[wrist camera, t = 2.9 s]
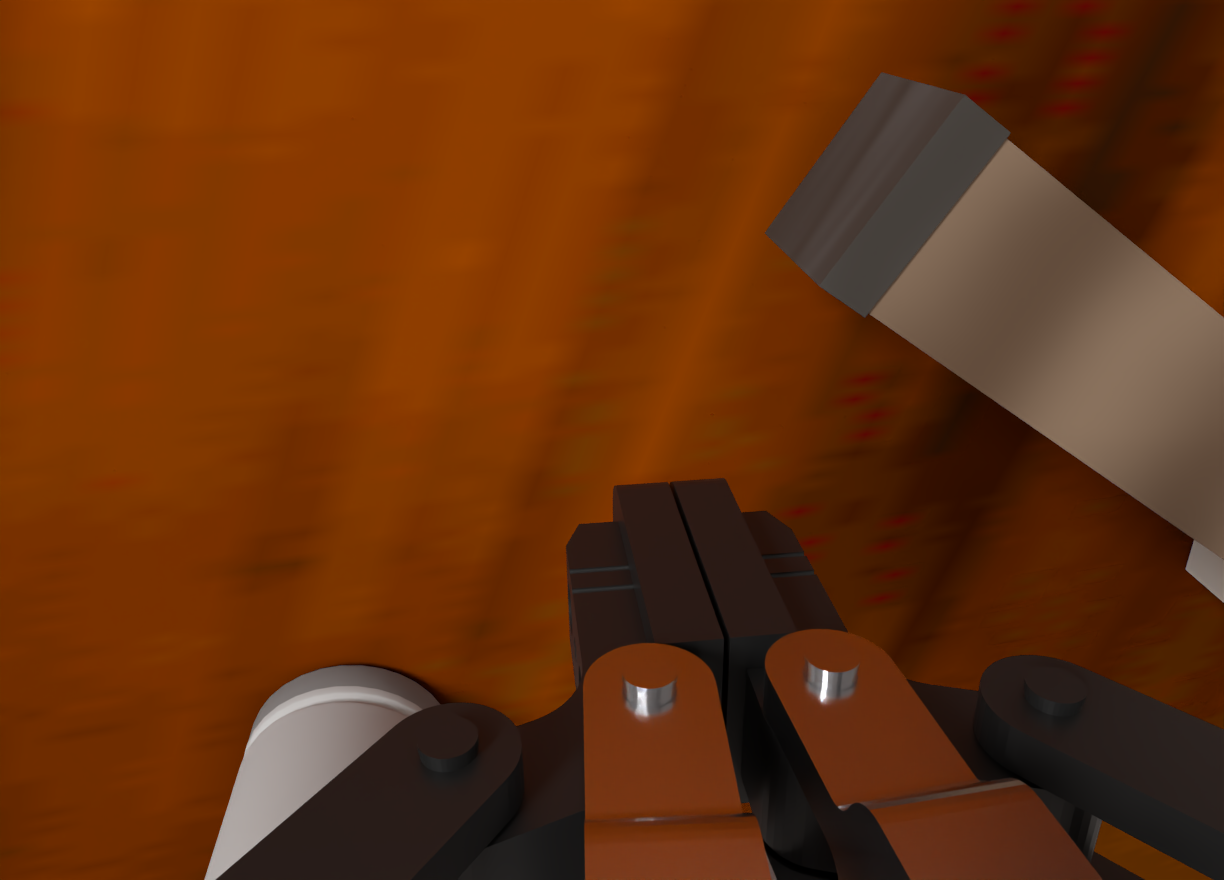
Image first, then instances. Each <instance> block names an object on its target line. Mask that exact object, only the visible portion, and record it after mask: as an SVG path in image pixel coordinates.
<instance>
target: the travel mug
mask: <svg viewBox="0 0 1224 880" xmlns="http://www.w3.org/2000/svg"><path fill="white" fill-rule="evenodd" d="M436 705H440V703H439V702H438V701H437V700H436V699H435V698H434V696H433V695H432V694H431V693H429V692H428V691H427V690H426V689H424V688H423V687H422V686H420V685H419V684H418V683H416V682H414V681H413V680H411V679H409V678H407V677H405V676H403V675H401V674H398V673H395V672H392V671H389V670H386V669H382V668H377V667H370V666H363V665H340V666H334V667H328V668H322V669H319V670H316V671H313V672H310V673H307V674H304V675H302V676H300V677H298V678H296V679H294V680H292V681H291V682H289V683H287V684H285V685H284V686H282V687H281V688H280V689H279V690H278V691H276V692H275V693H274V694H273V695H272V696H270V698H269V699H268V700H267V701H266V703H265V704H264V705H263V707H262V708H261V709H260V711H259V713H258V716H257V718H256V720H255V722H254V725H253V728H252V731H251V734H250V737H249V740H248V744H247V747H246V750H245V755H244V759H243V761H242V763H241V766H240V769H239V772H238V775H237V778H236V782H235V785H234V788H233V791H232V794H231V798H230V801H229V804H228V807H227V810H226V813H225V817H224V820H223V823H222V826H221V829H220V832H219V836H218V839H217V842H216V845H215V848H214V851H213V855H212V858H211V861H210V864H209V867H208V870H207V874H206V877H205V880H216V879H217V878H218V877H219V876H220V875H222V874H223V873H224V872H225V871H226V870H227V869H229V868H230V867H231V866H232V865H233V864H234V863H236V862H237V861H238V860H239V859H240V858H241V857H242V856H244V855H245V854H246V853H247V852H248V851H249V850H251V849H252V848H253V847H254V846H255V845H256V844H258V843H259V842H260V841H261V840H262V839H263V838H265V837H266V836H267V835H268V834H269V833H270V832H272V831H273V830H274V829H275V828H276V827H277V826H279V825H280V824H281V823H282V822H283V821H284V820H286V819H287V818H288V817H289V816H290V815H291V814H293V813H294V812H295V811H296V810H297V809H298V808H300V807H301V806H302V805H303V804H304V803H305V802H307V801H308V800H309V799H310V798H311V797H312V796H314V795H315V794H316V793H317V792H318V791H319V790H321V789H322V788H323V787H324V786H325V785H326V784H328V783H329V782H330V781H331V780H332V779H333V778H335V777H336V776H337V775H338V774H339V773H340V772H342V771H343V770H344V769H345V768H346V767H347V766H349V765H350V764H351V763H352V762H353V761H354V760H356V759H357V758H358V757H359V756H360V755H361V754H363V753H364V752H365V751H366V750H367V749H368V748H370V747H371V746H372V745H373V744H374V743H375V742H377V741H378V740H379V739H380V738H381V737H382V736H384V735H385V734H386V733H387V732H388V731H389V730H391V729H392V728H393V727H394V726H395V725H397V724H398V723H399V722H401V721H402V720H403V719H405V718H407V717H408V716H410V715H412V714H414V713H416V712H418V711H421V710H423V709H426V708H429V707H433V706H436Z"/></svg>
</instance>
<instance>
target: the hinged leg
mask: <svg viewBox="0 0 1224 880" xmlns="http://www.w3.org/2000/svg"><path fill="white" fill-rule="evenodd" d="M1009 134H1010V132H1009V131H1008V130H1007V129H1005V128H1004V127H1003V126H1002V125H1001V124H999V123H998V122H997V121H996V120H995V119H993V118H992V117H991V116H990V115H988V114H987V113H986V112H985V111H984V110H982V109H981V108H980V107H979V106H978V105H976V104H975V103H974V102H973V101H972V100H970V99H969V98H968V97H967V96H966V95H963V94H960V93H956V92H952V91H949V90H945V89H941V88H937V87H934V86H930V85H926V84H923V83H919V82H915V81H911V80H908V79H904V78H900V77H897V76H893V75H889V74H885V73H882V72H881V74H880V75H879V77H878V78H877V79H876V81H875V82H874V83H873V85H872V86H871V88H870V89H869V90H868V92H867V93H866V94H865V96H864V97H863V99H862V100H861V101H860V103H859V104H858V105H857V107H856V108H855V110H854V111H853V112H852V114H851V115H850V116H849V118H848V119H847V121H846V122H845V123H844V125H843V126H842V127H841V129H840V130H839V132H838V133H837V134H836V136H835V137H834V138H833V140H832V141H831V143H830V144H829V145H828V147H827V148H826V149H825V151H824V152H823V154H822V155H821V156H820V158H819V159H818V160H817V162H816V163H815V165H814V166H813V167H812V169H811V170H810V171H809V173H808V174H807V176H806V177H805V178H804V180H803V181H802V182H801V184H800V185H799V187H798V188H797V189H796V191H795V192H794V193H793V195H792V196H791V198H790V199H789V200H788V202H787V203H786V204H785V206H784V207H783V209H782V210H781V211H780V213H779V214H778V215H777V217H776V218H775V220H774V221H773V222H772V224H771V225H770V226H769V228H768V229H767V231H766V232H765V234H766V235H767V236H768V237H769V238H770V239H771V240H772V241H773V242H774V243H775V244H776V245H777V246H779V247H780V248H781V249H782V250H783V251H784V252H785V253H786V254H787V255H788V256H789V257H790V258H791V259H792V260H793V261H794V262H795V263H796V264H797V265H798V266H799V267H800V268H801V269H802V270H803V271H804V272H805V273H806V274H807V275H808V276H809V277H810V278H811V279H812V280H813V281H814V282H815V283H817V284H818V285H819V286H820V287H821V288H823V289H824V290H826V291H827V292H829V293H830V294H831V295H833V296H834V297H836V298H837V299H839V300H840V301H842V302H843V303H844V304H846V305H847V306H849V307H850V308H852V309H853V310H855V311H856V312H857V313H859V314H860V315H862V316H863V317H866V315H867V314H868V313H869V314H870V315H872V316H873V317H874V318H876V319H877V320H879V321H880V322H882V323H883V324H885V325H886V326H887V327H889V328H890V329H892V330H893V331H895V332H896V333H897V334H899V335H900V336H902V337H903V338H905V339H906V340H908V341H909V342H910V343H912V344H913V345H915V346H916V347H918V348H919V349H921V350H922V351H923V352H925V353H926V354H928V355H929V356H931V357H932V358H933V359H935V360H936V361H938V362H939V363H941V364H942V365H944V366H945V367H946V368H948V369H949V370H951V371H952V372H954V373H955V374H957V375H958V376H959V377H961V378H962V379H964V380H965V381H967V382H968V383H970V384H971V385H972V386H974V387H975V388H977V389H978V390H980V391H981V392H982V393H984V394H985V395H987V396H988V397H990V398H991V399H993V400H994V401H995V402H997V403H998V404H1000V405H1001V406H1003V407H1004V408H1006V409H1007V410H1008V411H1010V412H1011V413H1013V414H1014V415H1016V416H1017V417H1018V418H1020V419H1021V420H1023V421H1024V422H1026V423H1027V424H1029V425H1030V426H1031V427H1033V428H1034V429H1036V430H1037V431H1039V432H1040V433H1042V434H1043V435H1044V436H1046V437H1047V438H1049V439H1050V440H1052V441H1053V442H1055V443H1056V444H1057V445H1059V446H1060V447H1062V448H1063V449H1065V450H1066V451H1067V452H1069V453H1070V454H1072V455H1073V456H1075V457H1076V458H1078V459H1079V460H1080V461H1082V462H1083V463H1085V464H1086V465H1088V466H1089V467H1091V468H1092V469H1093V470H1095V471H1096V472H1098V473H1099V474H1101V475H1102V476H1103V477H1105V478H1106V479H1108V480H1109V481H1111V482H1112V483H1114V484H1115V485H1116V486H1118V487H1119V488H1121V489H1122V490H1124V491H1125V492H1127V493H1128V494H1129V495H1131V496H1132V497H1134V498H1135V499H1137V500H1138V501H1140V502H1141V503H1142V504H1144V505H1145V506H1147V507H1148V508H1150V509H1151V510H1152V511H1154V512H1155V513H1157V514H1158V515H1160V516H1161V517H1163V518H1164V519H1165V520H1167V521H1168V522H1170V523H1171V524H1173V525H1174V526H1176V527H1177V528H1178V529H1180V530H1181V531H1183V532H1184V533H1186V534H1187V535H1188V536H1190V537H1191V538H1193V539H1194V540H1196V541H1197V542H1199V543H1200V544H1201V545H1203V546H1204V547H1206V548H1207V549H1209V550H1210V551H1212V552H1213V553H1214V554H1216V555H1217V556H1219V557H1220V558H1222V559H1223V560H1224V318H1223V317H1222V316H1221V315H1220V314H1218V313H1217V312H1216V311H1215V310H1214V309H1212V308H1211V307H1210V306H1209V305H1208V304H1206V303H1205V302H1204V301H1203V300H1201V299H1200V298H1199V297H1198V296H1197V295H1195V294H1194V293H1193V292H1192V291H1191V290H1189V289H1188V288H1187V287H1186V286H1185V285H1183V284H1182V283H1181V282H1180V281H1178V280H1177V279H1176V278H1175V277H1174V276H1172V275H1171V274H1170V273H1169V272H1168V271H1166V270H1165V269H1164V268H1163V267H1162V266H1160V265H1159V264H1158V263H1157V262H1155V261H1154V260H1153V259H1152V258H1151V257H1149V256H1148V255H1147V254H1146V253H1145V252H1143V251H1142V250H1141V249H1140V248H1138V247H1137V246H1136V245H1135V244H1134V243H1132V242H1131V241H1130V240H1129V239H1128V238H1126V237H1125V236H1124V235H1123V234H1122V233H1120V232H1119V231H1118V230H1117V229H1115V228H1114V227H1113V226H1112V225H1111V224H1109V223H1108V222H1107V221H1106V220H1105V219H1103V218H1102V217H1101V216H1100V215H1099V214H1097V213H1096V212H1095V211H1094V210H1092V209H1091V208H1090V207H1089V206H1088V205H1086V204H1085V203H1084V202H1083V201H1082V200H1080V199H1079V198H1078V197H1077V196H1076V195H1074V194H1073V193H1072V192H1071V191H1069V190H1068V189H1067V188H1066V187H1065V186H1063V185H1062V184H1061V183H1060V182H1059V181H1057V180H1056V179H1055V178H1054V177H1053V176H1051V175H1050V174H1049V173H1048V172H1046V171H1045V170H1044V169H1043V168H1042V167H1040V166H1039V165H1038V164H1037V163H1036V162H1034V161H1033V160H1032V159H1031V158H1030V157H1028V156H1027V155H1026V154H1025V153H1023V152H1022V151H1021V150H1020V149H1019V148H1017V147H1016V146H1015V145H1014V144H1013V143H1011V142H1010V141H1009V140H1008V139H1007V137H1008V136H1009Z"/></svg>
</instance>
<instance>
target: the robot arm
mask: <svg viewBox="0 0 1224 880" xmlns="http://www.w3.org/2000/svg"><path fill="white" fill-rule="evenodd" d="M566 554H567V578H568V602H569V626H570V643H571V651H572V659H573V666H574V676H575V684H576V691H575V692H574V694H573V695H572V697H571V698H570V699H568V700H567V701H566V702H565V703H564V704H563V705H562V706H560V707H559V708H558V709H556V710H555V711H553V712H551V713H549V714H548V715H546V716H544V717H541V718H539V719H536V720H534V721H531V722H528V723H525V724H522V725H519V726H515V725H514V724H513V722H512V721H511V720H510V719H509V718H508V717H506V716H505V715H504V714H502V713H501V712H499V711H497V710H495V709H493V708H490V707H487V706H484V705H479V704H474V703H447V704H441V705H436V706H433V707H429V708H426V709H423V710H421V711H418V712H416V713H414V714H412V715H410V716H408V717H407V718H405V719H403V720H402V721H401V722H399V723H398V724H397V725H395V726H394V727H393V728H392V729H391V730H389V731H388V732H387V733H386V734H385V735H384V736H382V737H381V738H380V739H379V740H378V741H377V742H375V743H374V744H373V745H372V746H371V747H370V748H368V749H367V750H366V751H365V752H364V753H363V754H361V755H360V756H359V757H358V758H357V759H356V760H354V761H353V762H352V763H351V764H350V765H349V766H347V767H346V768H345V769H344V770H343V771H342V772H340V773H339V774H338V775H337V776H336V777H335V778H333V779H332V780H331V781H330V782H329V783H328V784H326V785H325V786H324V787H323V788H322V789H321V790H319V791H318V792H317V793H316V794H315V795H314V796H312V797H311V798H310V799H309V800H308V801H307V802H305V803H304V804H303V805H302V806H301V807H300V808H298V809H297V810H296V811H295V812H294V813H293V814H291V815H290V816H289V817H288V818H287V819H286V820H284V821H283V822H282V823H281V824H280V825H279V826H277V827H276V828H275V829H274V830H273V831H272V832H270V833H269V834H268V835H267V836H266V837H265V838H263V839H262V840H261V841H260V842H259V843H258V844H256V845H255V846H254V847H253V848H252V849H251V850H249V851H248V852H247V853H246V854H245V855H244V856H242V857H241V858H240V859H239V860H238V861H237V862H236V863H234V864H233V865H232V866H231V867H230V868H229V869H227V870H226V871H225V872H224V873H223V874H222V875H220V876H219V877H218V878H217V879H216V880H1144V879H1142V878H1141V877H1139V876H1137V875H1135V874H1133V873H1132V872H1130V871H1128V870H1126V869H1124V868H1123V867H1121V866H1119V865H1117V864H1115V863H1114V862H1112V861H1110V860H1108V859H1106V858H1105V857H1103V856H1101V855H1099V854H1098V853H1096V852H1094V848H1095V844H1096V840H1097V837H1098V833H1099V829H1100V825H1101V822H1102V820H1103V821H1105V822H1107V823H1109V824H1110V825H1112V826H1114V827H1116V828H1118V829H1120V830H1122V831H1124V832H1125V833H1127V834H1129V835H1131V836H1133V837H1135V838H1137V839H1139V840H1140V841H1142V842H1144V843H1146V844H1148V845H1150V846H1152V847H1154V848H1155V849H1157V850H1159V851H1161V852H1163V853H1165V854H1167V855H1169V856H1170V857H1172V858H1174V859H1176V860H1178V861H1180V862H1182V863H1184V864H1185V865H1187V866H1189V867H1191V868H1193V869H1195V870H1197V871H1199V872H1200V873H1202V874H1204V875H1206V876H1208V877H1210V878H1212V879H1214V880H1224V730H1223V729H1221V728H1219V727H1217V726H1214V725H1212V724H1210V723H1207V722H1205V721H1203V720H1201V719H1198V718H1196V717H1194V716H1192V715H1189V714H1187V713H1185V712H1182V711H1180V710H1178V709H1176V708H1173V707H1171V706H1169V705H1167V704H1164V703H1162V702H1160V701H1157V700H1155V699H1153V698H1151V697H1148V696H1146V695H1144V694H1142V693H1139V692H1137V691H1135V690H1132V689H1130V688H1128V687H1126V686H1123V685H1121V684H1119V683H1117V682H1114V681H1112V680H1110V679H1107V678H1105V677H1103V676H1101V675H1098V674H1096V673H1094V672H1092V671H1089V670H1087V669H1085V668H1082V667H1080V666H1077V665H1075V664H1072V663H1070V662H1066V661H1063V660H1060V659H1056V658H1051V657H1045V656H1036V655H1020V656H1012V657H1008V658H1004V659H1001V660H999V661H997V662H994V663H993V664H992V665H990V666H989V667H988V668H987V669H986V670H985V671H984V673H983V675H982V677H981V681H980V686H979V691H974V690H966V689H959V688H951V687H944V686H937V685H930V684H924V683H919V682H915V681H912V680H908V679H905V677H904V676H903V674H902V673H901V672H900V670H899V669H898V667H897V666H896V665H895V663H894V662H893V661H892V659H891V658H890V657H889V656H888V655H887V653H886V652H884V651H883V650H882V649H881V648H880V647H878V646H877V645H875V644H874V643H872V642H870V641H868V640H866V639H864V638H862V637H860V636H857V635H854V634H851V633H848V631H847V629H846V628H845V626H844V624H843V622H842V620H841V619H840V617H839V615H838V613H837V611H836V609H835V608H834V606H833V604H832V602H831V600H830V599H829V597H828V595H827V593H826V591H825V589H824V588H823V586H822V584H821V582H820V580H819V579H818V577H817V575H814V569H813V568H812V566H811V564H810V562H809V560H808V559H807V557H806V556H804V551H803V549H802V548H801V546H800V544H799V542H798V540H797V539H796V537H795V535H794V533H793V531H792V529H790V528H789V527H787V526H786V525H785V524H783V523H782V522H780V521H779V520H778V519H776V518H775V517H773V516H772V515H771V514H769V513H768V512H766V511H757V512H743V513H741V511H740V509H739V507H738V505H737V503H736V500H735V498H734V496H733V494H732V492H731V490H730V488H729V486H728V483H727V482H726V480H725V479H724V478H719V479H704V480H689V481H674V482H670V485H669V484H668V482H662V483H647V484H632V485H617V486H614V489H613V522H604V523H590V524H579V525H578V527H577V529H576V530H575V532H574V534H573V535H572V537H571V539H570V540H569V542H568V544H567V545H566ZM748 802H749V803H750V806H751V809H752V812H753V813H743V811H742V807H741V803H748Z"/></svg>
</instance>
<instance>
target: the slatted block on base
mask: <svg viewBox="0 0 1224 880" xmlns="http://www.w3.org/2000/svg"><path fill="white" fill-rule="evenodd" d="M1185 570H1187V571H1188V572H1189V573H1190V574H1191V575H1192V576H1193V577H1195V578H1196V579H1197V580H1198V581H1199V582H1200V583H1202V584H1203V585H1204V586H1205V587H1206V588H1207V589H1208V590H1210V591H1211V592H1212V593H1213V594H1214V595H1215V596H1216V597H1218V598H1219V599H1220V600H1221V601H1222V602H1223V603H1224V560H1223V559H1222V558H1220V557H1219V556H1217V555H1216V554H1214V553H1213V552H1212V551H1210V550H1209V549H1207V548H1206V547H1204V546H1203V545H1201V544H1200V543H1199V542H1197V541H1196V540H1194V541H1193V545H1192V548H1191V552H1190V555H1189V559H1188V562H1187V566H1186V569H1185Z"/></svg>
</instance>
